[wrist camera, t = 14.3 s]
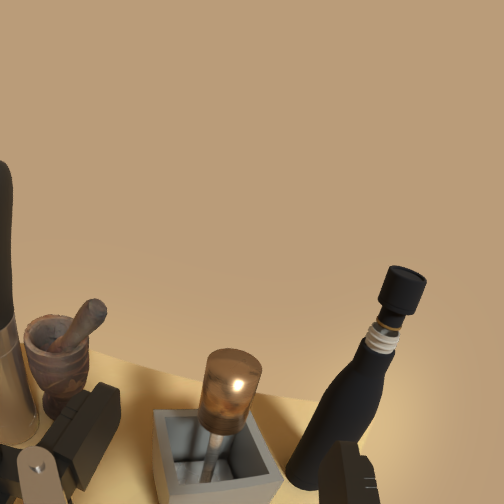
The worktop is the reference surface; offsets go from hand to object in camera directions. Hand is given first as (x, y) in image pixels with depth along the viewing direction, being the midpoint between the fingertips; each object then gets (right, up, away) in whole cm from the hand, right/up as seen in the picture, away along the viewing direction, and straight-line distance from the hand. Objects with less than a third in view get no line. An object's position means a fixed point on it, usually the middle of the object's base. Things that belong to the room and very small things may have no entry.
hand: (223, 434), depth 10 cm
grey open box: (-5, -22, +19) cm, 30 cm away
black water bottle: (+9, -23, +25) cm, 36 cm away
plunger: (-4, -20, +18) cm, 27 cm away
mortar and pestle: (-24, -16, +26) cm, 39 cm away
